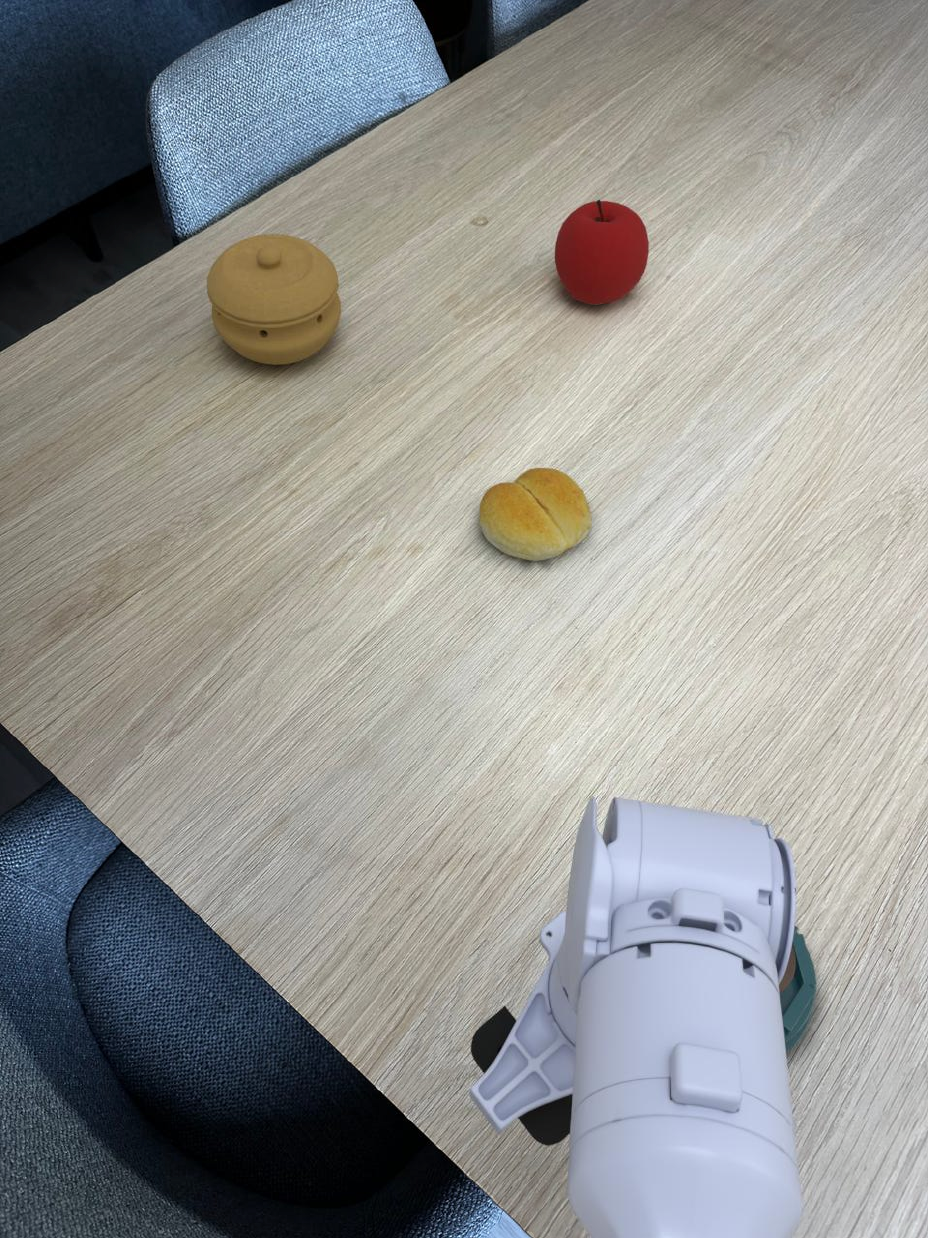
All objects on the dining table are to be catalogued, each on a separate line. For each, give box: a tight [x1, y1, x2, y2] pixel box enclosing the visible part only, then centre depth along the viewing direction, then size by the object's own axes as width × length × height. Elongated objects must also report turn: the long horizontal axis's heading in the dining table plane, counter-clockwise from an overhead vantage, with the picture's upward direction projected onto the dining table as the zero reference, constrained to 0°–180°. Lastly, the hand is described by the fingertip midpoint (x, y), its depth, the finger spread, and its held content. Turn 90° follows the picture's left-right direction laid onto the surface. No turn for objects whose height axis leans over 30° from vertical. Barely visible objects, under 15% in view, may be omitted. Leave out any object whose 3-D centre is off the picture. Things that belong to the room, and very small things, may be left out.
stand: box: [780, 925, 818, 1054], centre depth 62 cm, size 10×10×4 cm
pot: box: [206, 233, 342, 366], centre depth 94 cm, size 12×12×10 cm
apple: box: [554, 199, 650, 305], centre depth 99 cm, size 9×9×10 cm
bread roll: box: [478, 467, 593, 562], centre depth 84 cm, size 8×9×4 cm
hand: (589, 1032), depth 52 cm, fingers open, 7 cm apart
